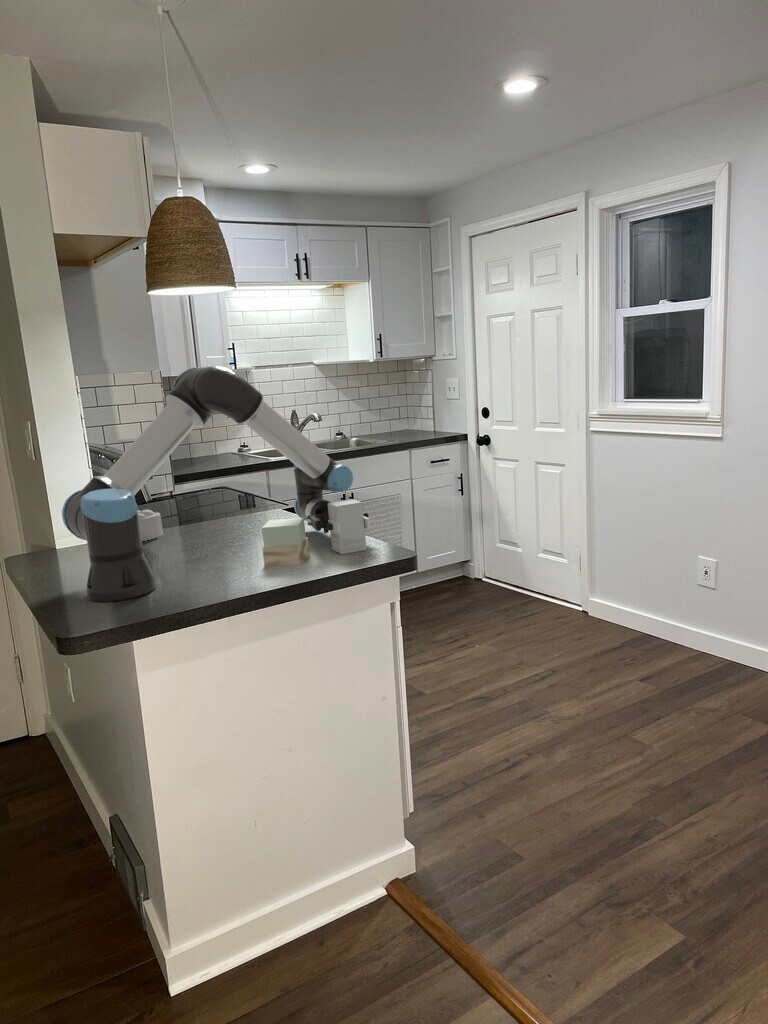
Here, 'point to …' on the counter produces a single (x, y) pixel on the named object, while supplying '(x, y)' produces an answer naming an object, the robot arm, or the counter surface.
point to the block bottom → (286, 554)
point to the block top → (283, 532)
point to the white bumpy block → (149, 524)
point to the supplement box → (348, 526)
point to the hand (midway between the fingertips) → (353, 526)
